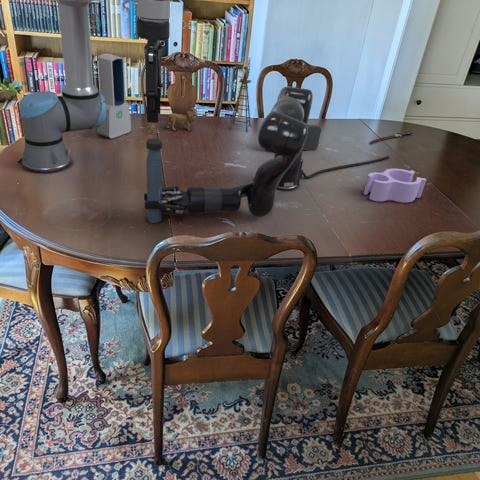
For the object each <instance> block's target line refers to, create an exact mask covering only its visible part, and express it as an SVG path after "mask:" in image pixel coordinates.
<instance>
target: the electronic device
mask: <svg viewBox="0 0 480 480" xmlns="http://www.w3.org/2000/svg"><path fill="white" fill-rule="evenodd" d="M97 67H98V79H99V80H98V81H99V93H101V94H102V95H103V97H104V99H105V104H106V118H105V121H104V123H103V124H102V125H101V126H100V127H96V131H97V133H98V134H99V135H100V136H103V137H104V138H105V137H106V138H109V139H115V138H117V137H120V136H123V135H126V134H129V133H130V132H131V131H132V122H131V112H130V104H129V103H128V102H127V100H126V99H127V98H126V96H127V95H126V75H125V73H126V72H125V58H124V57H122V56H118V55H115V54H110V53H102V54H99V55H98V56H97Z"/></svg>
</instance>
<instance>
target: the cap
mask: <svg viewBox="0 0 480 480" xmlns="http://www.w3.org/2000/svg"><path fill="white" fill-rule="evenodd" d="M162 142H163V141H162V139H159V138H148V139H147V140H146V144H145V146H146V147H145V148H146V149H147V150H148V151H149V150H159V151H161V149H162V148H163V143H162Z"/></svg>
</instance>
